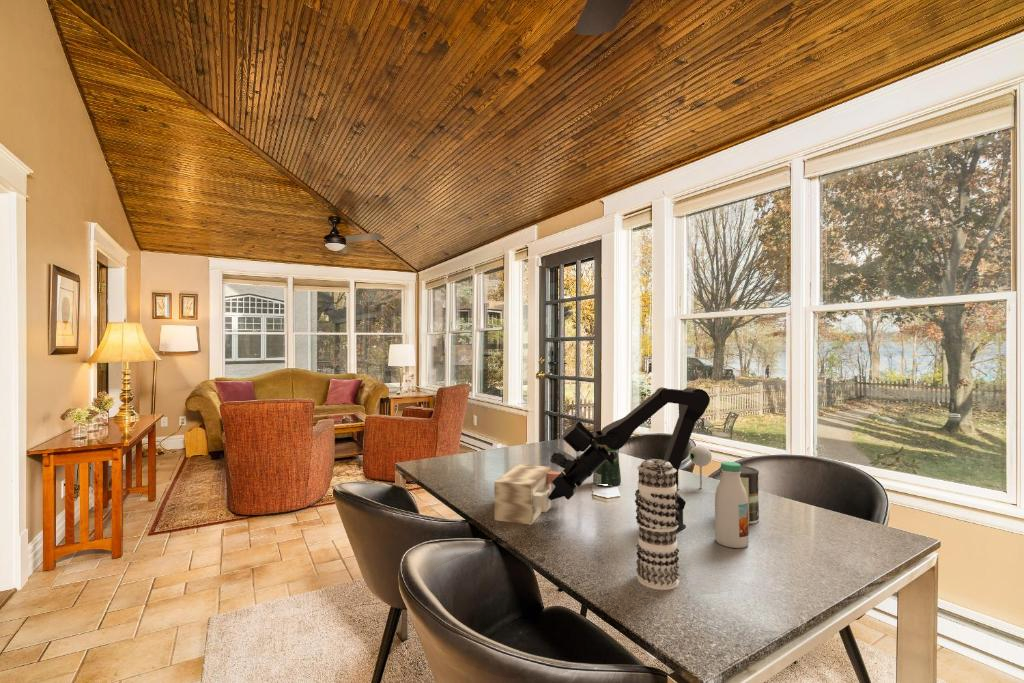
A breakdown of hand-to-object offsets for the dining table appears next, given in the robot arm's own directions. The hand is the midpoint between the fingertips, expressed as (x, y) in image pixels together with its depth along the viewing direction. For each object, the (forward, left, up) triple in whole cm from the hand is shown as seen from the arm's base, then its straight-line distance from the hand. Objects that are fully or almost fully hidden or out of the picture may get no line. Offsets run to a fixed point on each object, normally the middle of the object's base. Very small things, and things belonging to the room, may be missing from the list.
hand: (549, 498), depth 134 cm
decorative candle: (-38, +10, -7) cm, 40 cm away
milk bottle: (-42, -21, -7) cm, 48 cm away
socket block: (+12, -3, -7) cm, 14 cm away
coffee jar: (+10, -44, -7) cm, 46 cm away
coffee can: (-37, -41, -7) cm, 56 cm away
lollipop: (-17, -62, -7) cm, 65 cm away
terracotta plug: (+9, -12, -1) cm, 15 cm away
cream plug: (+6, +3, -3) cm, 7 cm away
